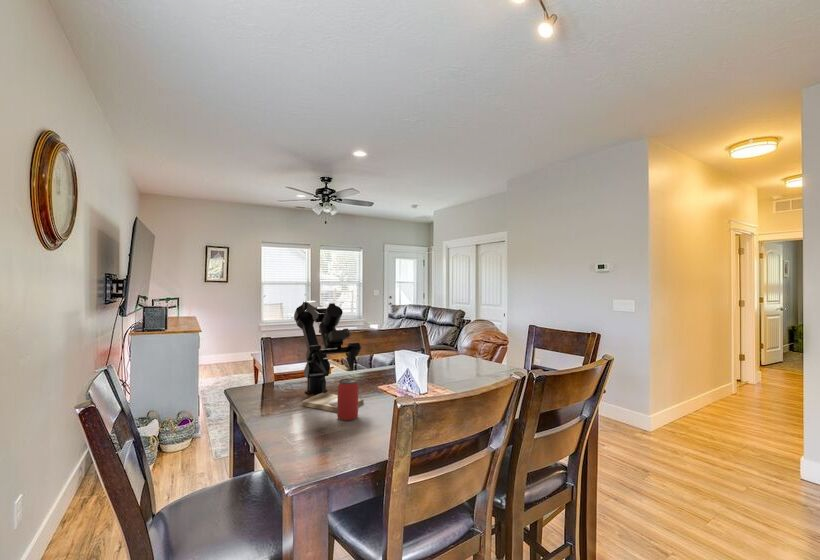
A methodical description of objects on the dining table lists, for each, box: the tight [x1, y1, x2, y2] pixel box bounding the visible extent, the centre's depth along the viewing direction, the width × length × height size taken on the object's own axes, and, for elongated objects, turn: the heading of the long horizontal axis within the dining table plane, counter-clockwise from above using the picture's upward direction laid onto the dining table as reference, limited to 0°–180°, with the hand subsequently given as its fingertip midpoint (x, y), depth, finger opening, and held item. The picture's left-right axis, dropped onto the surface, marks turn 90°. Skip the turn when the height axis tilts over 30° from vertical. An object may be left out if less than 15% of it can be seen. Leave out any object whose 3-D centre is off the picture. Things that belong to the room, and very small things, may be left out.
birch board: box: [301, 392, 364, 413], centre depth 139 cm, size 18×12×2 cm, turn 66°
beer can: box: [336, 377, 359, 422], centre depth 126 cm, size 7×7×12 cm
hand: (339, 371), depth 133 cm, fingers open, 9 cm apart
